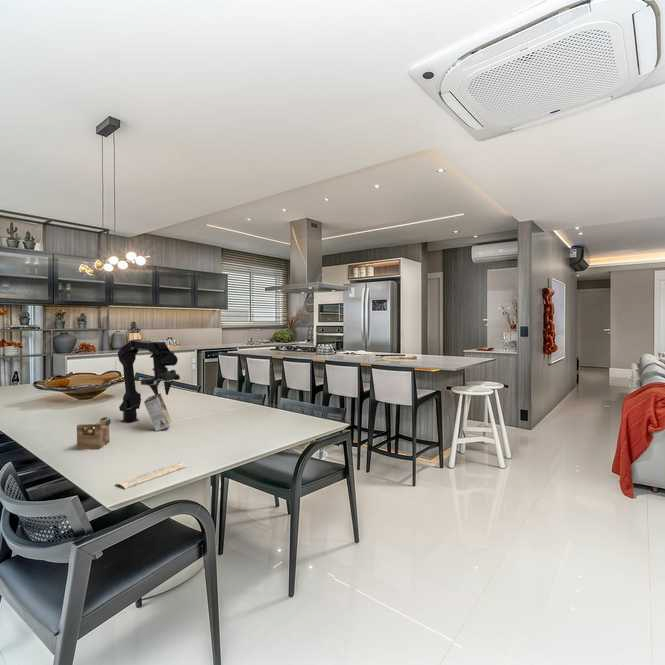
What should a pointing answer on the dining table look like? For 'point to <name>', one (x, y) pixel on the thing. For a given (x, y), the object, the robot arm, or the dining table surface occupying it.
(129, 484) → the beige curved strip
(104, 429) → the mount
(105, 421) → the lock pin
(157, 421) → the coffee box
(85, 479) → the dining table surface
